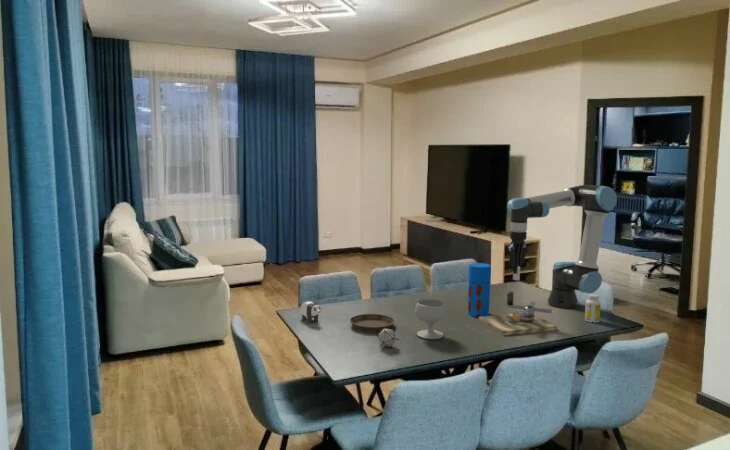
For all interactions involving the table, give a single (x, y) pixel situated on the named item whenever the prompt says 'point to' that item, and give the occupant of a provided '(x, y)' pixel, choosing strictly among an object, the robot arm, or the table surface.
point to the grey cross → (528, 310)
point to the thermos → (478, 289)
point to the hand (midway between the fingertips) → (516, 279)
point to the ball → (516, 318)
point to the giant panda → (310, 311)
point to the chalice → (430, 316)
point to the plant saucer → (371, 322)
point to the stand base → (516, 324)
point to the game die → (387, 337)
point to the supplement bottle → (592, 308)
